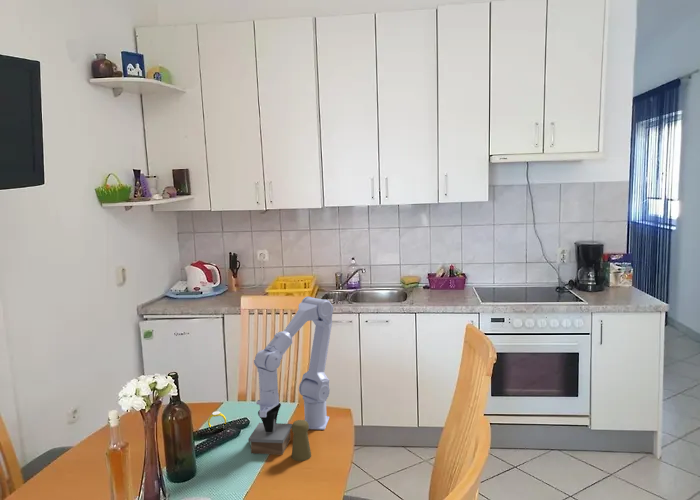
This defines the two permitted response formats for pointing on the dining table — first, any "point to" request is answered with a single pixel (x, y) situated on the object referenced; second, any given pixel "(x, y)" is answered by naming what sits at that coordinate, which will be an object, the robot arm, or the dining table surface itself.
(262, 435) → the lid
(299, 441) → the olive tapered shaker
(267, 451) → the box
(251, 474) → the dining table surface
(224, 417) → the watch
